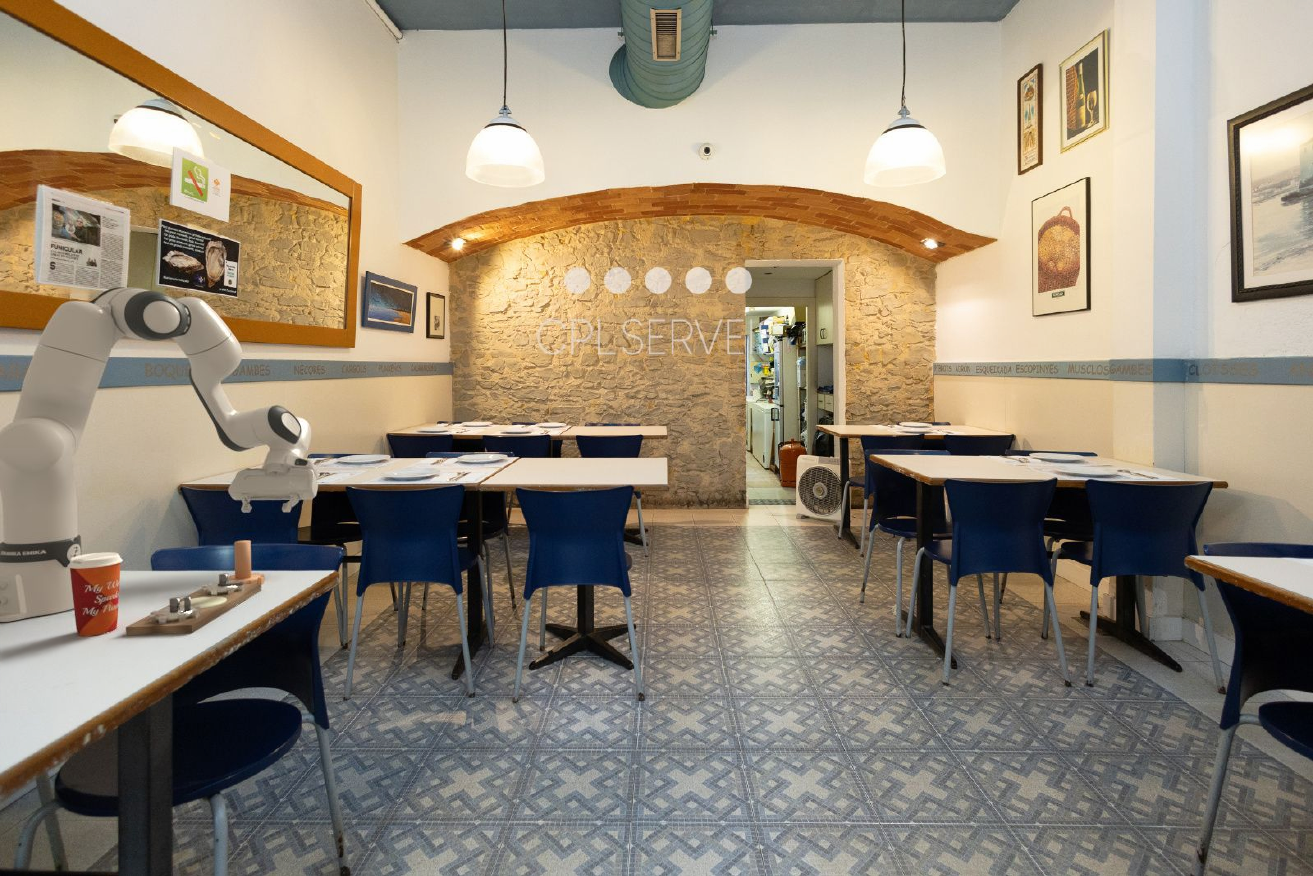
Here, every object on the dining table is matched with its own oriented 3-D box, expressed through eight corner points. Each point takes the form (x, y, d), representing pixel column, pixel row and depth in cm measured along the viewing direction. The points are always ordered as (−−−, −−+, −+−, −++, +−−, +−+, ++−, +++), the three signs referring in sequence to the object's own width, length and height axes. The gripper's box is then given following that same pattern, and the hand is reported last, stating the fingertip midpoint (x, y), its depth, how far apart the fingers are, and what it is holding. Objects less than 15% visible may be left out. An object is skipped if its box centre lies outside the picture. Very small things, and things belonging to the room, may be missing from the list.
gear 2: (193, 596, 137) (193, 579, 137) (213, 586, 145) (213, 570, 145) (234, 595, 138) (234, 578, 138) (252, 585, 146) (251, 569, 146)
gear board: (125, 635, 118) (125, 626, 118) (208, 591, 146) (208, 584, 146) (192, 633, 120) (191, 624, 120) (261, 590, 147) (261, 583, 147)
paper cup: (92, 640, 115) (90, 562, 115) (57, 636, 117) (55, 559, 116) (135, 625, 123) (133, 552, 122) (102, 622, 125) (101, 550, 124)
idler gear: (213, 589, 147) (213, 546, 147) (232, 579, 156) (231, 538, 155) (254, 588, 149) (253, 545, 148) (270, 578, 157) (270, 537, 157)
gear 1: (138, 624, 119) (138, 604, 119) (164, 611, 127) (164, 592, 127) (185, 623, 120) (185, 603, 120) (208, 610, 128) (208, 591, 128)
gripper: (235, 461, 169) (215, 503, 160) (318, 461, 172) (304, 503, 163) (243, 476, 174) (225, 518, 164) (324, 476, 177) (311, 518, 167)
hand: (265, 511), depth 164 cm, fingers open, 8 cm apart
